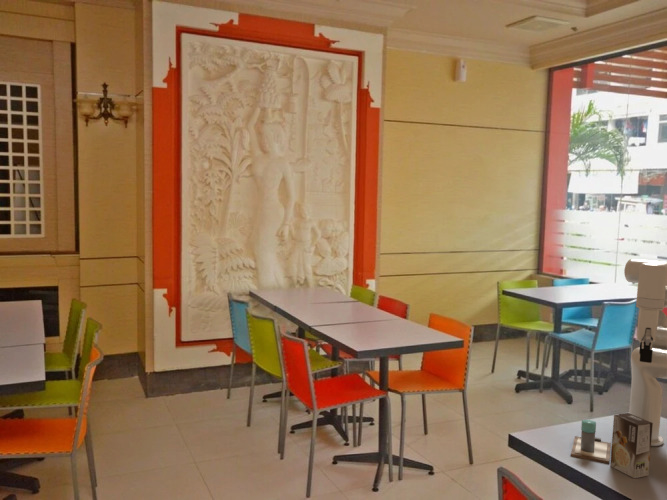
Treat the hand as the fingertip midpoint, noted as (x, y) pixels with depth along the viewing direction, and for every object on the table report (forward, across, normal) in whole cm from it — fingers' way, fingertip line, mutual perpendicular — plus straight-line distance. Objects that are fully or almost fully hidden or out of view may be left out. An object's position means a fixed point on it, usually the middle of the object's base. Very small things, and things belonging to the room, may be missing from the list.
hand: (645, 358), depth 188 cm
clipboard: (+32, 0, -13) cm, 35 cm away
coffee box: (+32, +10, -2) cm, 34 cm away
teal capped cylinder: (+31, +3, -14) cm, 34 cm away
